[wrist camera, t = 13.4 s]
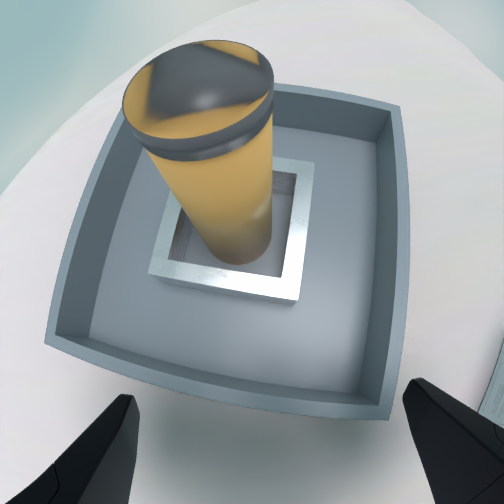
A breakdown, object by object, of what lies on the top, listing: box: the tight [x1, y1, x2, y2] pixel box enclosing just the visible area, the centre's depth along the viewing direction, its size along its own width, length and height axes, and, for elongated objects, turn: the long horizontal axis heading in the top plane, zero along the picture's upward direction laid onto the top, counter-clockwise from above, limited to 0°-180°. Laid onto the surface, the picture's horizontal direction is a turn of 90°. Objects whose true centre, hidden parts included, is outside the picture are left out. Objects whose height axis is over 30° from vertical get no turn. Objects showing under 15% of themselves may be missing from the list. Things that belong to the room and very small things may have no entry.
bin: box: [44, 83, 410, 420], centre depth 19 cm, size 20×20×5 cm
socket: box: [148, 157, 315, 306], centre depth 19 cm, size 8×8×3 cm
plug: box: [122, 40, 274, 265], centre depth 14 cm, size 4×4×13 cm
